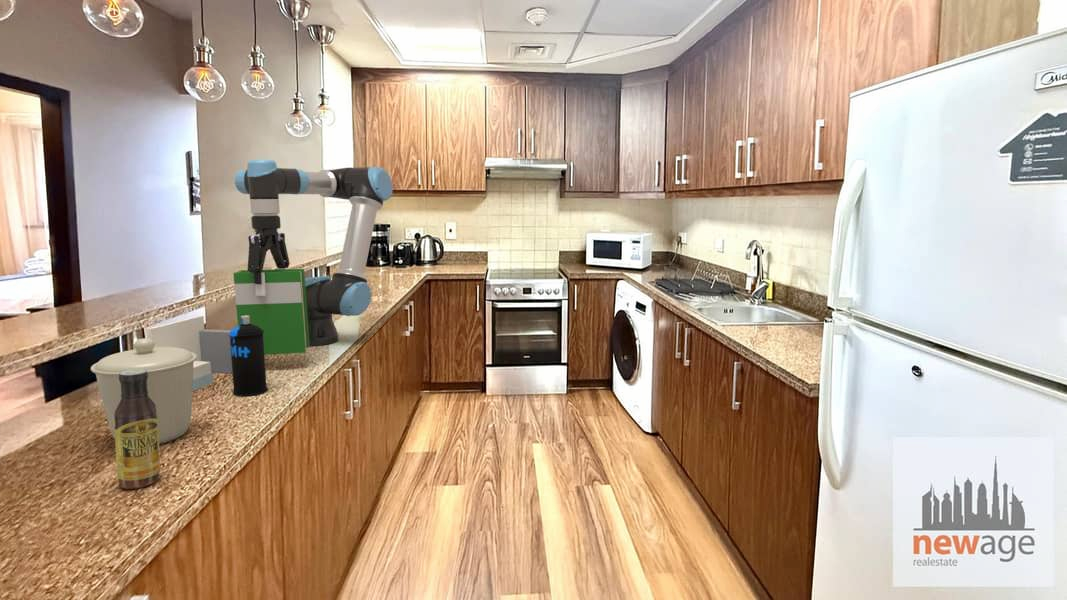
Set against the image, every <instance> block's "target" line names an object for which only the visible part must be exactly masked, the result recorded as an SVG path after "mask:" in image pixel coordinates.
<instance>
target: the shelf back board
mask: <svg viewBox="0 0 1067 600" xmlns="http://www.w3.org/2000/svg"><path fill="white" fill-rule="evenodd" d="M146 330H147V331H146V333H147V338H148V339H151V340H153V341H154V344H155V346H154V347H176V348H182V349H186V350H188V351H189V352H192V353H195V354H196V355H197V358H196V360H195V361H202V356H201V344H200V333H199V331H202V330H205V318H204V315H197V316H193V317H190V318H189V317H188V318H186V319H181V320H178V321H174V322H170V323H165V324H160V325H157V326H153V327H148V328H147V329H146Z"/></svg>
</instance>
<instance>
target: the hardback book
mask: <svg viewBox="0 0 1067 600" xmlns="http://www.w3.org/2000/svg"><path fill="white" fill-rule="evenodd" d="M262 273H264V274H265V286H266V296H256V290H255V283H254V273H250V271H248V269H244V270H243V269H240V270H237V271H235V272H233V283H234V295H235V296H234V297H235V307H236V319H237V326H239V325H240V324H241V316H249V318H250V324H252V325H256V326H258V327H260V328H261V329H262V330H263V331H264V333H263V342H264V356H266V355H267V356H268V355H271V356H272V355H287V354H288V355H289V354H305V353H307V349H306V348H310V346H309V332H308V317H307V303H306V288H305V278H306V275H305V268H285V269H276V268H274V269H263V270H262Z"/></svg>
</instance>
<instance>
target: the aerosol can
mask: <svg viewBox="0 0 1067 600" xmlns="http://www.w3.org/2000/svg"><path fill="white" fill-rule="evenodd" d="M230 331H231V332H230V333H229V334H228V335H229V336H230V347H231V360H232V373H231V374H232V383H233V391H232V395H233V396H236V397H241V398H242V397H244V398H245V397H253V396H260V395H262V394H265V393H267V392H268V391H269V388H268V387H267V386H268V385H267V372H266V371H267V370H266V360H265V358H266V357H265V356H266V355H264V342H263V333H264V331H263V330H262V329H261V328H260V327H258V326H256V325H252V324H250V318H249V316H241V324H240V325H239V326H238V325H237V326H234V327H233V328H232V329H231V330H230Z"/></svg>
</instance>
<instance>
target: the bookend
mask: <svg viewBox="0 0 1067 600" xmlns="http://www.w3.org/2000/svg"><path fill="white" fill-rule="evenodd" d="M230 332H231V330H225V329H205V330H202V331H199V333H200V344H201V356H202V361H203V362H210V366H211V372H212V373H218V374H219V373H221V374H223V373H224V374H233V373H232V360H231V347H230V336H229V335H228V334H229V333H230Z"/></svg>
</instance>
